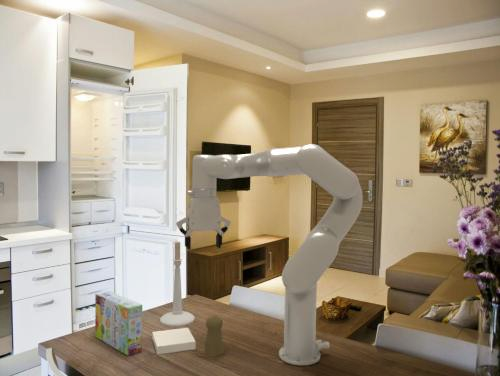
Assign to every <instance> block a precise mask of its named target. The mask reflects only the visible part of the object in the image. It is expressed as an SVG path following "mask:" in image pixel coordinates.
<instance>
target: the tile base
mask: <svg viewBox="0 0 500 376" xmlns="http://www.w3.org/2000/svg"><path fill="white" fill-rule="evenodd" d="M151 336H152V337H151V338H152V342H153V345H154V350H155V352H156V355H165V354H171V353H177V352H185V351H193V350H197V349H196V344H197V343H196V342H197V341H196V340H195V338H194V335H193V334H192V332H191V330H190V329H189V327H181V328H176V329H175V328H174V329H173V328H172V329H166V330H158V331H152V335H151Z"/></svg>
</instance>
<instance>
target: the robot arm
mask: <svg viewBox="0 0 500 376" xmlns="http://www.w3.org/2000/svg"><path fill="white" fill-rule="evenodd" d="M299 175H300V176H301V175H306V176H307V177H308V178H310V179H311V180H312V181H313V182H315V183H316V184H317V185H318V186H320V187H321V188H323V190H325V191H326V192H327V193H329V194H330V195H331V196H332V197H333V200H332V202H331V204H330V205H329V207H328V208H327V210H326V212H325V213H324V214H323V216H322V218H320V219H319V221H318V222H317V224H316V225H315V226H314V227H313V228H312V229H311V230H310V231H309V233H308V234H307V236H306V238H305V239H304V241H303V242H302V244H301V245H300V246H299V248H298V249H297V250H296V252H295V253H294V254H293V255H291V256H290V257H289V258H288V259H287V261H286V263H285V265H284V266H283V269H282V273H281V281H282V284H283V286H284V288H285V289H284V291H285V292H284V318H283V319H284V321H283V322H284V325H283V326H284V327H283V328H284V331H283V333H284V334H283V343H284V344H283V346H282V347H281V348H280V349H279V351H278V357H279V359H281V360H282V361H283V362H284V363H287V364H290V365H294V366H310V365H314V364H316V363H319V361H320V360H321V352H320V351H321V350H323V349H324V350H325V349H330V346H331V344H330V342H329V341H322V339H316V334H317V331H316V328H317V289H318V287H317V286H318V281H319V280H320V279H321V278H322V276H323V275H324V274H325V273H326V271H327V270H328V269H329V268H330V266H331V265H332V263H333V262H334V261H335V258H336V257H337V255H338V253H339V249H340V247H339V246H340V244H341V242H342V240H343V239H344V238H345V237H346V235H347V234H348V232H350V229H351V228H352V227H353V225H354V224H355V222H356V221H357V219H358V217H359V215H360V213H361V211H362V207H363V189H362V186H361V184H360V181H359V178H358V176H357V175H356V173H355V172H354V171H352V170H351V169H349V168H348V167H347V166H345V165H344V164H343V163H341V162H340V161H339V160H337V159H336V158H335V157H334V156H333V155H331V154H330V153H328V152H327V151H326V150H325V149H324V148H323V147H321V145H318V144H314V143H307V144H305V145H297V146H287V147H275V148H270V149H267V150H264V151H260V152H255V153H253V152H252V153H245V154H226V153H225V154H224V153H223V154H217V155H213V154H196V155H194V156H193V158H192V182H191V184H192V185H191V186H192V187H191V190H187V196H191V197H190V199H189V203H188V207H187V209H188V211H187V216H186V217H184V218H182V219H180V220H178V221H176V222H175V225H176V227H177V228H178V230H179V231H180V233H181V234H182V235H184V247H186V249H187V251H189V250H191V244H192V243H191V241H192V237H191V234H192V233H193V232H208V231H209V232H210V231H211V232H212V231H215V232H216V233H217V234H216V235H215V247H216V248H217V249H221V247H222V245H223V236H224V234H225V233H226V232H227V231H228V229H229V228H230V225H231V224H232V223H231V220H229V219H227V218H225V217H223V216H221V215H222V213H221V204H220V202H221V201H220V199H219V198H218V197H217V179H223V180H229V179H237V178H238V179H239V178H241V179H242V178H248V177H249V178H250V177H251V178H252V177H269V178H273V177H275V178H276V177H287V176H288V177H289V176H299ZM222 222H223V223H224V225H223V227H222ZM184 224H187V229H186V230H185V228H184V227H183V225H184Z"/></svg>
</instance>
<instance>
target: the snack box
mask: <svg viewBox="0 0 500 376" xmlns="http://www.w3.org/2000/svg"><path fill="white" fill-rule="evenodd" d="M94 298H95V300H94V301H95V302H94V303H95V307H94V308H95V311H94V312H95V314H94V315H95V316H94V317H95V325H94V326H95V327H94V328H95V331H94V332H95V333H94V334H95V338H97V339H98V340H100V341H102V342H104V343H105V344H107V345H109V346H111V347H112V348H113V349H116V350H117V351H119V352H121V353H122V354H124V355H125V356H127V357H129V356H131V355H135V354H138V353H140V352H142V351H143V350H142V349H143V348H142V345H143V344H142V343H143V336H142V335H143V304H142V303H140V302H137V301H134V300H132V299H129V298H127V297H124V296H122V295H120V294H118V293H115V292H112V291H110V290H107V291H102V292H97V293H95V297H94Z"/></svg>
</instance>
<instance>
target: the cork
mask: <svg viewBox="0 0 500 376" xmlns="http://www.w3.org/2000/svg"><path fill="white" fill-rule="evenodd" d="M223 325H224V323H223V319H222V317H220V316H215V315H214V316H209V317H208V318H207V319H206V321H205V326H206V329H207V330H206V331H207V332H206V337H205V344H204V345H205V347H204V352H203V353H204V355H206V356H208V357H210V358H211V357H213V358H214V357H220V356H222V355H223V354H224V353H225V350H224V342H223V334H222V327H223Z"/></svg>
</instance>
